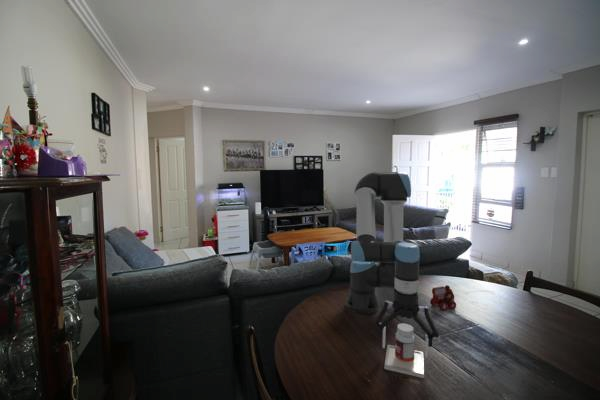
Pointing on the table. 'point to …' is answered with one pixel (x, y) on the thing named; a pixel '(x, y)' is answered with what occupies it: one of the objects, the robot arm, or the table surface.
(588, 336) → the table surface
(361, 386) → the table surface
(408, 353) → the pill bottle
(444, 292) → the toy fire truck
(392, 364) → the coaster
